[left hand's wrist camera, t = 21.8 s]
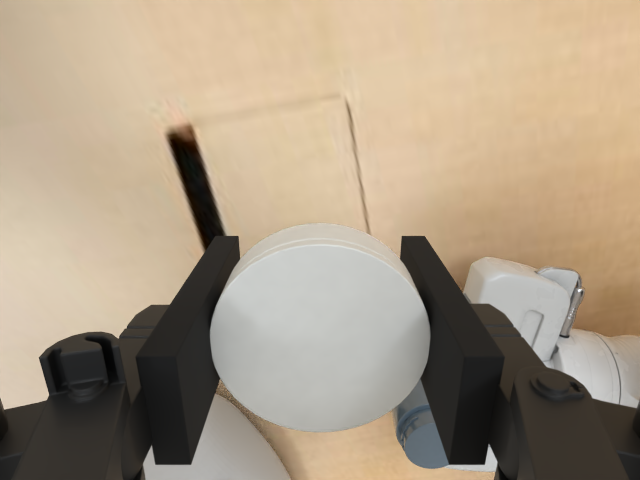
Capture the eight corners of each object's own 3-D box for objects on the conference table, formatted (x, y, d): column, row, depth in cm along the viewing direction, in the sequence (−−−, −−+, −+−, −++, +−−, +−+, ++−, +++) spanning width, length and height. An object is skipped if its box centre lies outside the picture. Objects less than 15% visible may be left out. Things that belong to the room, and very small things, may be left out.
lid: (454, 270, 11) (474, 299, 10) (363, 415, 13) (368, 458, 12) (266, 188, 11) (258, 205, 9) (196, 353, 12) (179, 391, 11)
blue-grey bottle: (365, 332, 44) (388, 462, 29) (382, 294, 42) (417, 410, 27) (407, 345, 44) (451, 479, 29) (426, 307, 43) (483, 429, 28)
